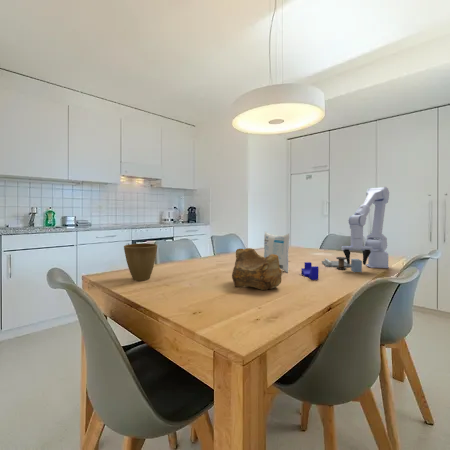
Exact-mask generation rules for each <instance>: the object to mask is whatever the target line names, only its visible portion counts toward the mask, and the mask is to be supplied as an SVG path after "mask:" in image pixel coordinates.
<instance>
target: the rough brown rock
mask: <svg viewBox="0 0 450 450" xmlns="http://www.w3.org/2000/svg"><path fill="white" fill-rule="evenodd" d="M231 278H232V281H233V284H234V286H235V288H243V287H251V288H254V289H258V290H261V291H267V290H271V289H274V288H277V287H279V286H280V285H281V283H282V269H280V267H279V258H278V256H277V255H275V254H271V255H269V256H267V257H266V258H264V256H262V255H260V254H258V252H257V251H256V250H255V248H251V247H250V248H249V247H248V248H237V249H236V250H235V262H234V267H233V268H232V273H231Z"/></svg>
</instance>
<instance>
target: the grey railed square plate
mask: <svg viewBox="0 0 450 450" xmlns="http://www.w3.org/2000/svg"><path fill="white" fill-rule="evenodd" d="M321 263H322V265H324V266H325V268H336V267H338V266H339V260H329V258H324V260H321ZM344 267H346V268H351V263H350V264H347V259H344Z"/></svg>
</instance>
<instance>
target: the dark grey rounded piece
mask: <svg viewBox="0 0 450 450" xmlns="http://www.w3.org/2000/svg"><path fill="white" fill-rule="evenodd" d="M336 259H337V260H338V261H339V266H338V267H335V268H336V270H342V269H343V270H344V269H345V270H347V267H344V259H345V260H347V259H346V256H336ZM345 270H344V271H345Z"/></svg>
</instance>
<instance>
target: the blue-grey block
mask: <svg viewBox="0 0 450 450" xmlns="http://www.w3.org/2000/svg"><path fill="white" fill-rule="evenodd" d="M350 260H351V261H350V264H351V267H350V270H351V271H352V272H353V273H355V272H361V274H362V272H363V260H361V259H359V258H350Z"/></svg>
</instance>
